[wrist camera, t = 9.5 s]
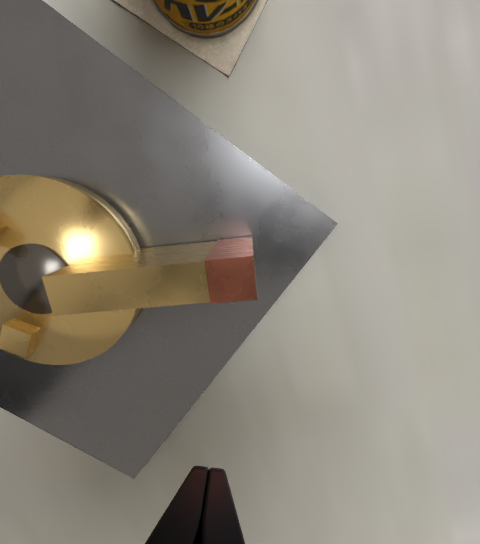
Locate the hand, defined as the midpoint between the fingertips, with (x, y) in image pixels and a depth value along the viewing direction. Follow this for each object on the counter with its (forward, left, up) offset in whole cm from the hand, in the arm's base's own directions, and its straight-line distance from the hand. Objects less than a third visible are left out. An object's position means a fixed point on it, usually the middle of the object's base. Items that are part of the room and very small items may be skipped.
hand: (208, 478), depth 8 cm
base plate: (-4, +10, -12) cm, 16 cm away
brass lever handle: (-2, +9, -11) cm, 14 cm away
